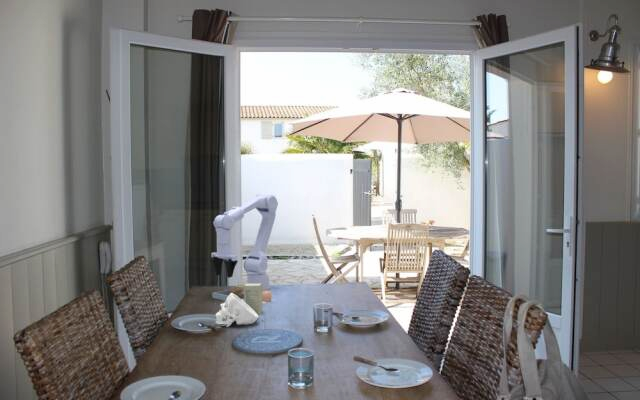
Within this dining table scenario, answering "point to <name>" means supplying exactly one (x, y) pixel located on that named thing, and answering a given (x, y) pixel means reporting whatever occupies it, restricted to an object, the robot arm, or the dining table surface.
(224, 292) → the slate board with cubby
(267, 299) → the peach rounded cylinder
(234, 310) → the skull bowl
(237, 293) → the walnut block
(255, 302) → the skincare box
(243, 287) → the beech block
